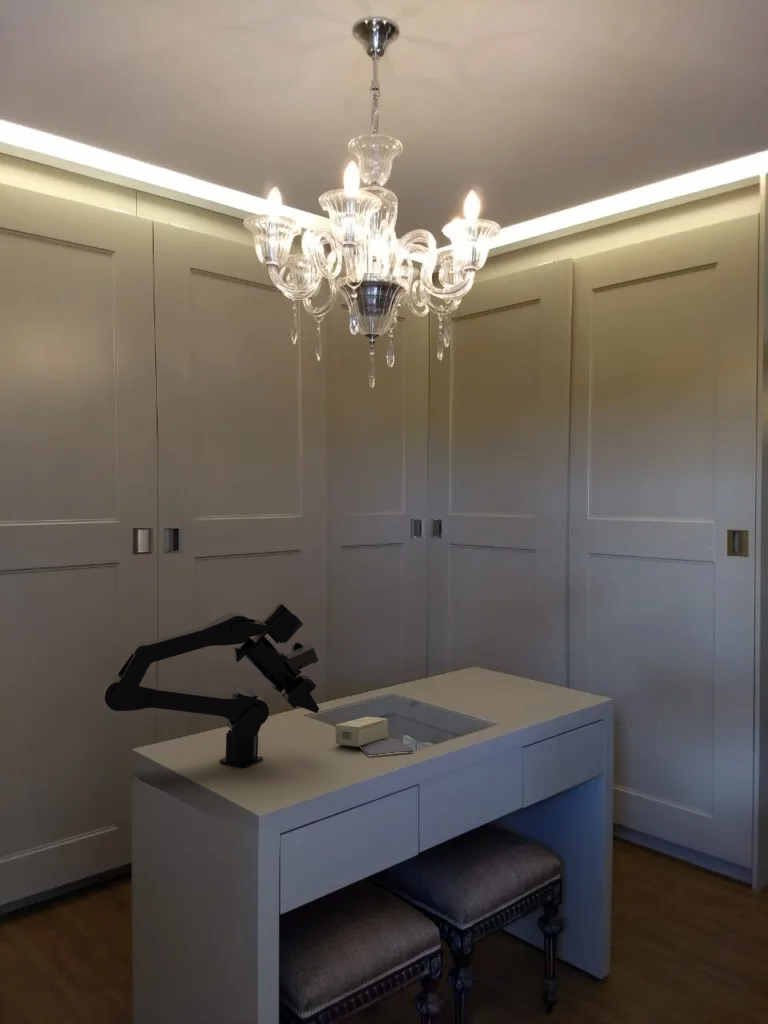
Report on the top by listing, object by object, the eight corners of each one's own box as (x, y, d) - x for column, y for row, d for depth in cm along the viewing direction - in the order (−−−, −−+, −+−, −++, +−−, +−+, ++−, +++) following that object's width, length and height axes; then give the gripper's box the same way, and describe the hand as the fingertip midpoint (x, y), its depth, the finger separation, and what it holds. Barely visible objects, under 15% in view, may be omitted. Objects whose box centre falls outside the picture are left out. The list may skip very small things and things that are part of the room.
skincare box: (335, 724, 170) (364, 715, 180) (335, 745, 169) (365, 735, 180) (358, 727, 167) (388, 717, 177) (359, 748, 166) (388, 737, 177)
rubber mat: (369, 757, 163) (369, 754, 163) (355, 744, 171) (355, 742, 171) (412, 753, 167) (413, 750, 167) (397, 741, 175) (397, 738, 175)
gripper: (307, 639, 153) (358, 692, 157) (285, 626, 171) (331, 674, 174) (266, 680, 150) (319, 733, 154) (248, 662, 168) (296, 711, 171)
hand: (317, 710), depth 164 cm, fingers closed
